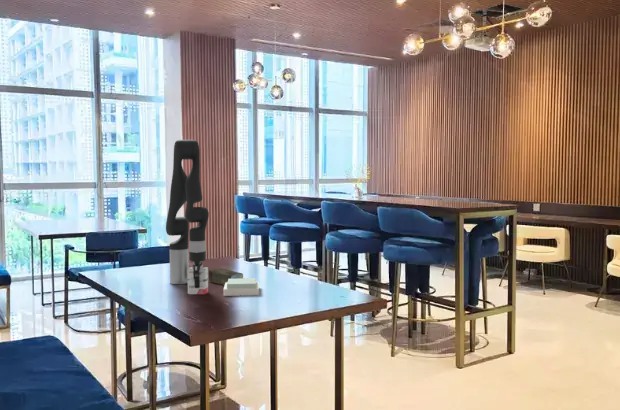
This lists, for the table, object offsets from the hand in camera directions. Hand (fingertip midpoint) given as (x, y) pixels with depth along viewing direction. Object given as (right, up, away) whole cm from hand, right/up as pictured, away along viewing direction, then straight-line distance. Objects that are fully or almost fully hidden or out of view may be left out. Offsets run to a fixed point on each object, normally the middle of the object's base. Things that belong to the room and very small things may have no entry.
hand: (198, 286), depth 257 cm
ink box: (0, -3, 0) cm, 4 cm away
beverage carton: (+9, -2, +23) cm, 25 cm away
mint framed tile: (+20, -3, +3) cm, 20 cm away
